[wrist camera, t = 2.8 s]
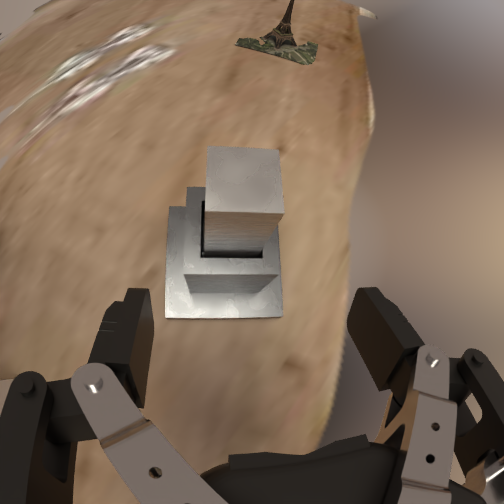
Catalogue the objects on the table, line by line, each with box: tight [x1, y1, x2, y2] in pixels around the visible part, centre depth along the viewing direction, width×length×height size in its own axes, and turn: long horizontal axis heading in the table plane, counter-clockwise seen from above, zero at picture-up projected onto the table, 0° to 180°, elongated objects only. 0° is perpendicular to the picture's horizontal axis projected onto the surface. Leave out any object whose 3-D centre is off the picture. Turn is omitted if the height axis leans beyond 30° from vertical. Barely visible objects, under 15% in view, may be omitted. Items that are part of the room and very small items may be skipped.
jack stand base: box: [165, 187, 283, 319], centre depth 27 cm, size 12×12×10 cm
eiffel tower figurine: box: [235, 0, 318, 65], centre depth 40 cm, size 15×10×13 cm
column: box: [204, 146, 285, 258], centre depth 23 cm, size 4×4×16 cm
